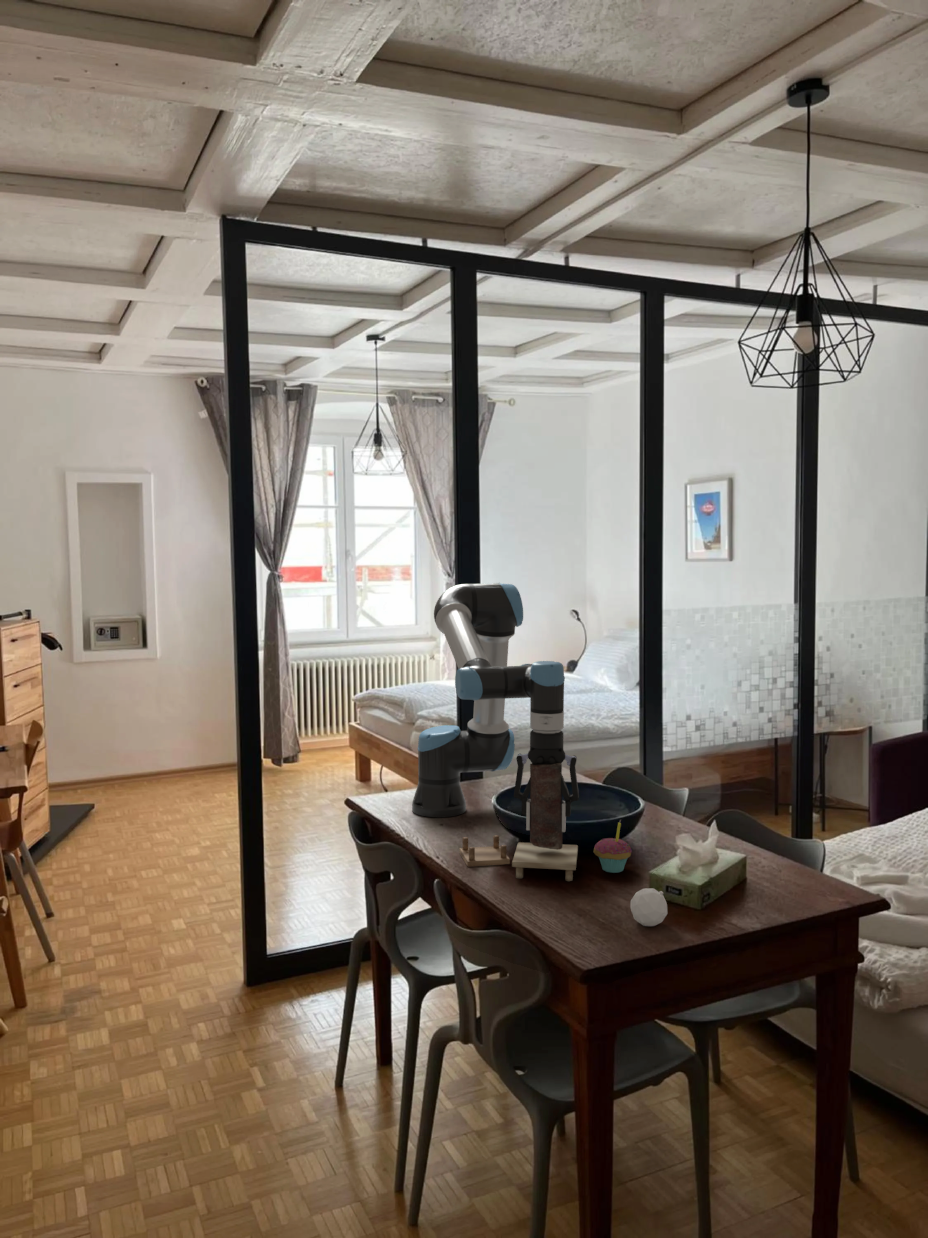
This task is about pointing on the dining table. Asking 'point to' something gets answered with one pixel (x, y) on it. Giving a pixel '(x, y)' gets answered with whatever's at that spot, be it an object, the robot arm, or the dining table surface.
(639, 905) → the ornament
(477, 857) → the upturned stool decor
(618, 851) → the cupcake
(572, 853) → the small wooden stool
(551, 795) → the brown wooden log
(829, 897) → the dining table surface
